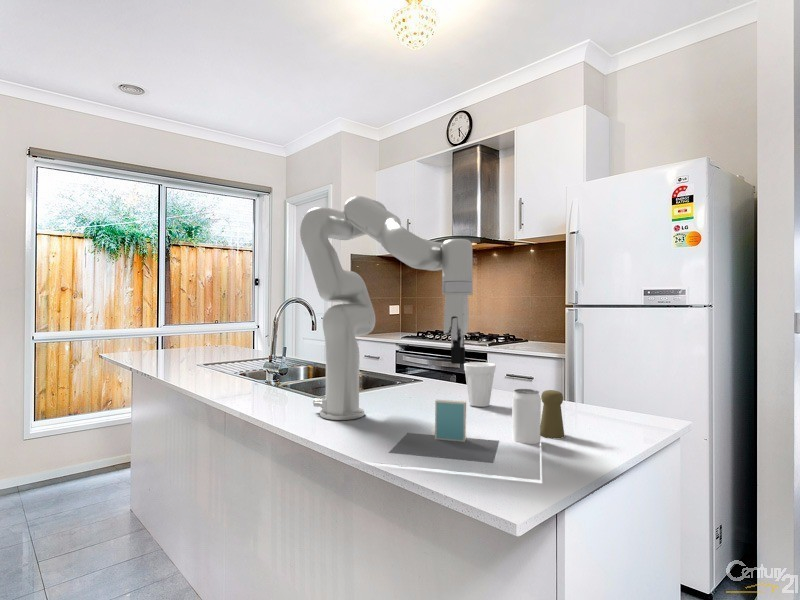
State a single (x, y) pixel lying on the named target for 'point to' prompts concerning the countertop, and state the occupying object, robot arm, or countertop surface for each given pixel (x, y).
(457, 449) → the mat
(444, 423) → the tile
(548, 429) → the cork
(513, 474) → the countertop surface
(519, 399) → the can
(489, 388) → the cup
